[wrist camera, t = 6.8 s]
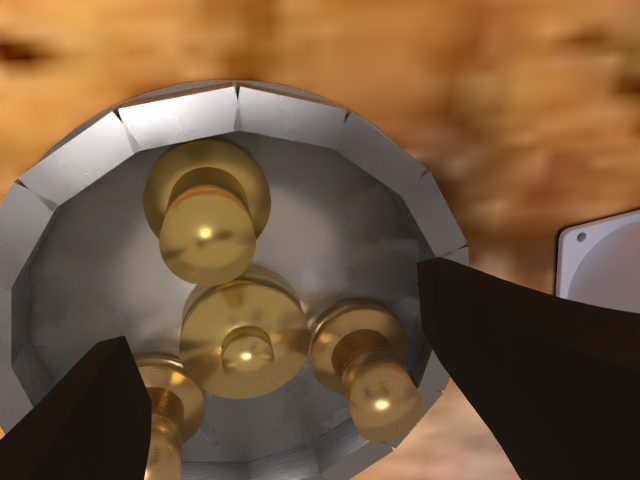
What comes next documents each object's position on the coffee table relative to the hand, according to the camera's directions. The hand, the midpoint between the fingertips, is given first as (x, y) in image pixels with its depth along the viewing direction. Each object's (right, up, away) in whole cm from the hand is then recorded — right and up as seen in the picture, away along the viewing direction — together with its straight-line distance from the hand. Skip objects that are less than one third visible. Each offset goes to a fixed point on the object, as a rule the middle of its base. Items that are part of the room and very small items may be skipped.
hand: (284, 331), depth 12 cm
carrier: (-3, -1, +10) cm, 11 cm away
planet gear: (-3, +4, +7) cm, 9 cm away
